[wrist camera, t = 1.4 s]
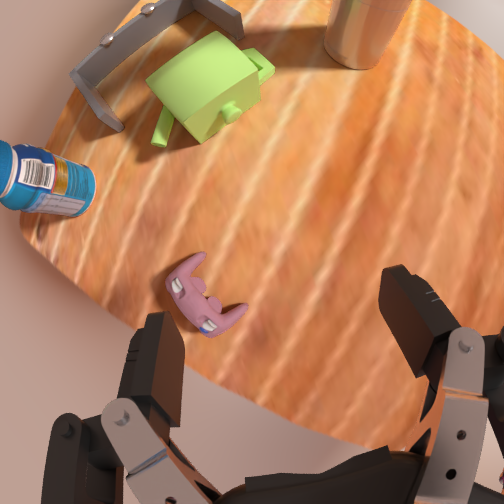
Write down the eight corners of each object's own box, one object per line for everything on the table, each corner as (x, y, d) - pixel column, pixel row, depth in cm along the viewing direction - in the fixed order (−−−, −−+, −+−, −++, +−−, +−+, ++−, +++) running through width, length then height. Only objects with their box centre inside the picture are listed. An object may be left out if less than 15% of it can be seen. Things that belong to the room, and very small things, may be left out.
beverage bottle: (77, 229, 38) (-26, 223, 19) (52, 196, 39) (-41, 178, 19) (108, 185, 38) (7, 153, 18) (80, 154, 38) (-11, 116, 18)
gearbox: (181, 175, 38) (155, 160, 28) (144, 127, 37) (114, 104, 28) (285, 97, 36) (289, 63, 26) (242, 55, 36) (235, 17, 26)
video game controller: (185, 264, 39) (151, 285, 33) (204, 245, 37) (169, 265, 31) (232, 321, 39) (204, 350, 33) (254, 306, 36) (227, 336, 30)
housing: (194, 3, 36) (186, -20, 29) (244, 36, 36) (239, 10, 29) (86, 86, 38) (65, 70, 31) (119, 132, 38) (96, 117, 31)
